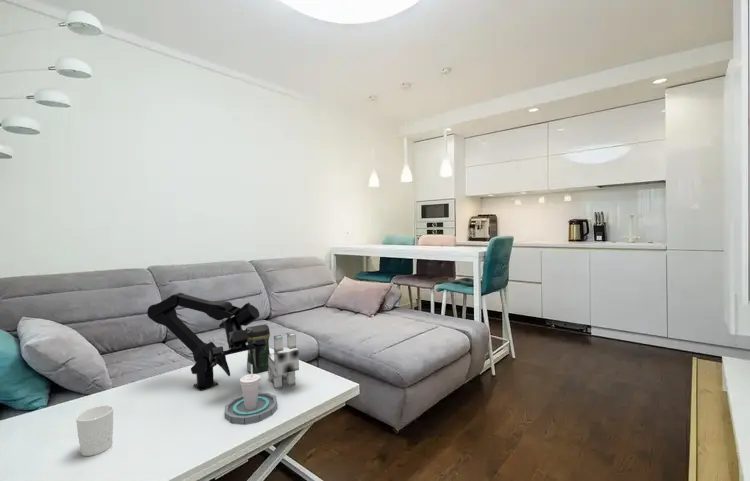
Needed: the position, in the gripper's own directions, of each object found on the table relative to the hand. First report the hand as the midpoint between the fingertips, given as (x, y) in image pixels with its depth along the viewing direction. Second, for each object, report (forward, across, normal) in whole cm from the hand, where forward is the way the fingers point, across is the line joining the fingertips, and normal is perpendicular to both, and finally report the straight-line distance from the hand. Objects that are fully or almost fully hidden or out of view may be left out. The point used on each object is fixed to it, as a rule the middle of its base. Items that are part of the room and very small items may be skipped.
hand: (243, 372), depth 120 cm
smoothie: (+12, 0, +1) cm, 12 cm away
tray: (+13, 0, +2) cm, 13 cm away
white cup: (+9, -40, +6) cm, 41 cm away
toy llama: (+4, +15, +11) cm, 19 cm away
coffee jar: (-9, +12, +24) cm, 28 cm away
